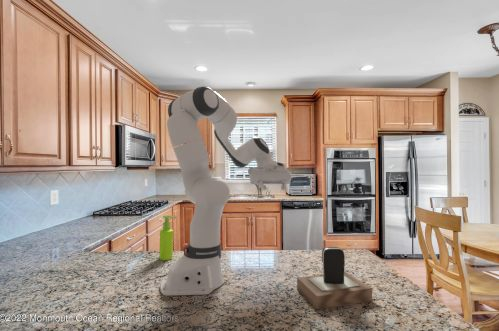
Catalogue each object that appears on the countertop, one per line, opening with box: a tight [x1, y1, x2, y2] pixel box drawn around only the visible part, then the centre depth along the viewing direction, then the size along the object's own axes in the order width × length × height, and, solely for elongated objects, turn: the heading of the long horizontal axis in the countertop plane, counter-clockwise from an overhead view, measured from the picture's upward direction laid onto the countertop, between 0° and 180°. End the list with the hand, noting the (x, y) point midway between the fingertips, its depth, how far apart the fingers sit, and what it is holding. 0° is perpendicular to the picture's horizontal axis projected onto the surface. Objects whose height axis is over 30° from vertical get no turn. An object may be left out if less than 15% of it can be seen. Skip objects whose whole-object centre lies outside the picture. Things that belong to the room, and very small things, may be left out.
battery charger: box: [321, 246, 346, 284], centre depth 81 cm, size 7×4×11 cm, turn 88°
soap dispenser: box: [158, 215, 176, 261], centre depth 114 cm, size 6×7×20 cm
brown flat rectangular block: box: [296, 271, 373, 310], centre depth 81 cm, size 20×13×4 cm, turn 106°
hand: (274, 189), depth 110 cm, fingers open, 8 cm apart
